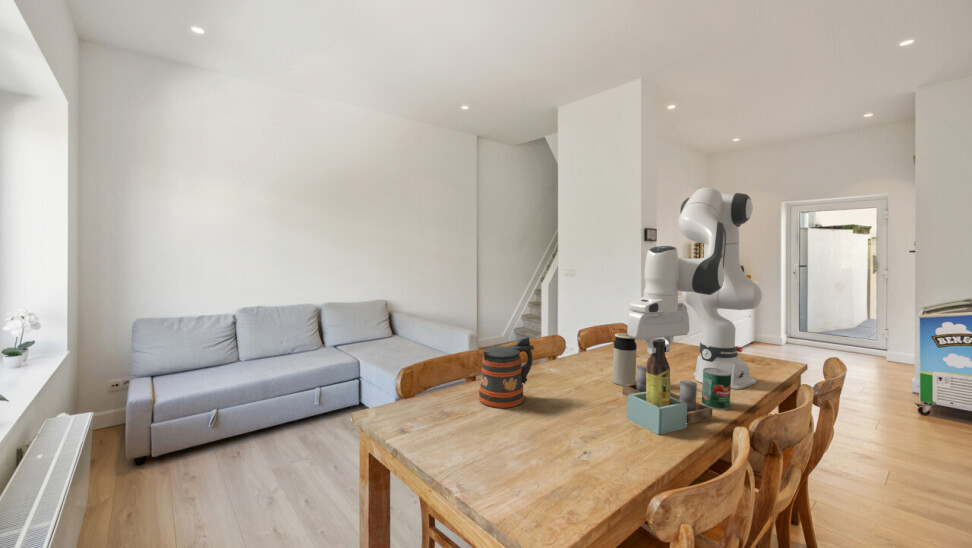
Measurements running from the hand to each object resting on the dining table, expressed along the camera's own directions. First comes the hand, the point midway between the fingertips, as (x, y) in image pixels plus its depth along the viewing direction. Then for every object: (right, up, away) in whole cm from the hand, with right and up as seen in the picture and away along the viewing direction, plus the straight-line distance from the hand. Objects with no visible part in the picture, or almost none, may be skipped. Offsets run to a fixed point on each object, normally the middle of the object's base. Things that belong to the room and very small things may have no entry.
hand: (658, 352), depth 113 cm
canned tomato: (+25, -20, +15) cm, 36 cm away
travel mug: (+3, -19, +36) cm, 41 cm away
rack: (+8, -20, +15) cm, 26 cm away
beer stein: (-42, -19, +19) cm, 50 cm away
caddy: (0, -20, +1) cm, 20 cm away
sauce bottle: (+1, -16, +1) cm, 16 cm away
